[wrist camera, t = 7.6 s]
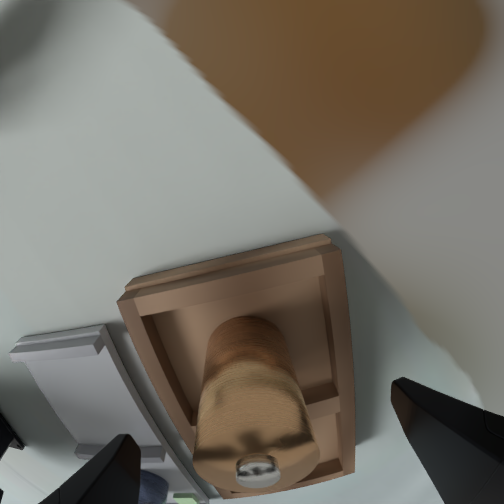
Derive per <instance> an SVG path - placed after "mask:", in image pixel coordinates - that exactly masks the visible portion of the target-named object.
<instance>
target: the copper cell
mask: <svg viewBox="0 0 504 504" xmlns="http://www.w3.org/2000/svg"><path fill="white" fill-rule="evenodd" d="M319 459H320V450H319V447H318V443H317V440H316V437H315V434H314V430H313V427H312V424H311V421H310V418H309V414H308V411H307V408H306V405H305V402H304V398H303V395H302V392H301V389H300V386H299V383H298V379H297V376H296V373H295V370H294V367H293V363H292V360H291V357H290V354H289V351H288V348H287V344H286V341H285V338H284V336H283V334H282V332H281V331H280V329H279V328H278V327H277V326H276V325H274V324H273V323H272V322H270V321H268V320H266V319H264V318H260V317H256V316H239V317H235V318H231V319H229V320H227V321H225V322H223V323H222V324H220V325H219V326H218V327H217V328H216V329H215V330H214V331H213V333H212V334H211V336H210V338H209V341H208V345H207V352H206V359H205V366H204V373H203V380H202V387H201V395H200V402H199V410H198V418H197V426H196V434H195V442H194V451H193V466H194V469H195V471H196V472H197V474H198V475H199V476H200V477H201V478H202V479H204V480H205V481H207V482H208V483H210V484H212V485H214V486H216V487H219V488H222V489H225V490H229V491H234V492H243V493H259V492H268V491H273V490H278V489H281V488H284V487H287V486H290V485H292V484H294V483H296V482H298V481H300V480H302V479H303V478H305V477H306V476H307V475H309V474H310V473H311V472H312V471H313V470H314V469H315V467H316V466H317V464H318V462H319Z"/></svg>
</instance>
